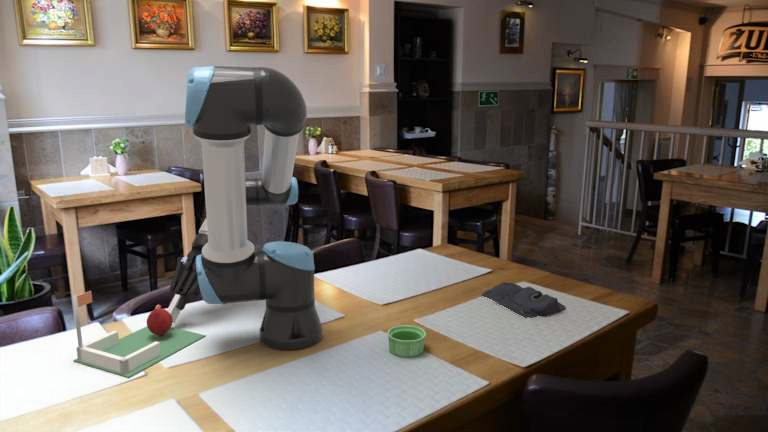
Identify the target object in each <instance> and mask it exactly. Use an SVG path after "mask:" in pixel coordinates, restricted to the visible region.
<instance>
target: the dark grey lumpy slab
mask: <svg viewBox="0 0 768 432" xmlns="http://www.w3.org/2000/svg"><path fill="white" fill-rule="evenodd" d="M481 295H482V296H484V297H487V298H489V299H492V300H493V301H495V302H497V303H498V304H499V305H502V306H504V307H506V308H508V309H510V310H511V311H513V312H515V313H517V314H519V315H521V316H523V317H525V318H524V319H527V318H526V317H530V318H529V319H531V318H533V317H537V316H541V317H548V316H547V315H549V316H552V315H551V314H553V315H556V314H558V313H560V312H562V311H563V310H566V309H567V308H566V306H565V305H564V304H562V303H561V302H559V301H558V298H557V297H553V296H551V295H549V294H543V293H542V291H540V290H537V289H535V288H533V287H532V286H527V287H522V286H521V285H520V284H516V283H514V282H505V281H504V282H501V283H499V284H497V285H495V286H493V287H492V288H490V289H488V290H485V291H484V292H482V294H481ZM481 295H480V296H481ZM482 296H481V297H482ZM484 297H483V298H484ZM499 305H498V306H499ZM511 311H510V312H511ZM513 312H512V313H513ZM515 313H514V314H515ZM555 313H556V314H555ZM517 314H516V315H517ZM519 315H518V316H519ZM521 316H520V317H521ZM523 317H522V318H523Z"/></svg>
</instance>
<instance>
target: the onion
mask: <svg viewBox="0 0 768 432" xmlns="http://www.w3.org/2000/svg"><path fill="white" fill-rule="evenodd" d="M167 310H168V309H165V308H162V305H161V304H157V305H156V306H155V308H154V309H153V310H152V311H151V312H150V313H149V315H147V319H146V326H147V327H148V329H149V330H150V332H152V333H153V334H156V335H159V336H163V335H165V333H166V332H167V331H169V329H170V328H171V327H173V326H172V325H173V324H174V323H173V319H172V316H171V314H170V313H169V312H168V311H167Z"/></svg>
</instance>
